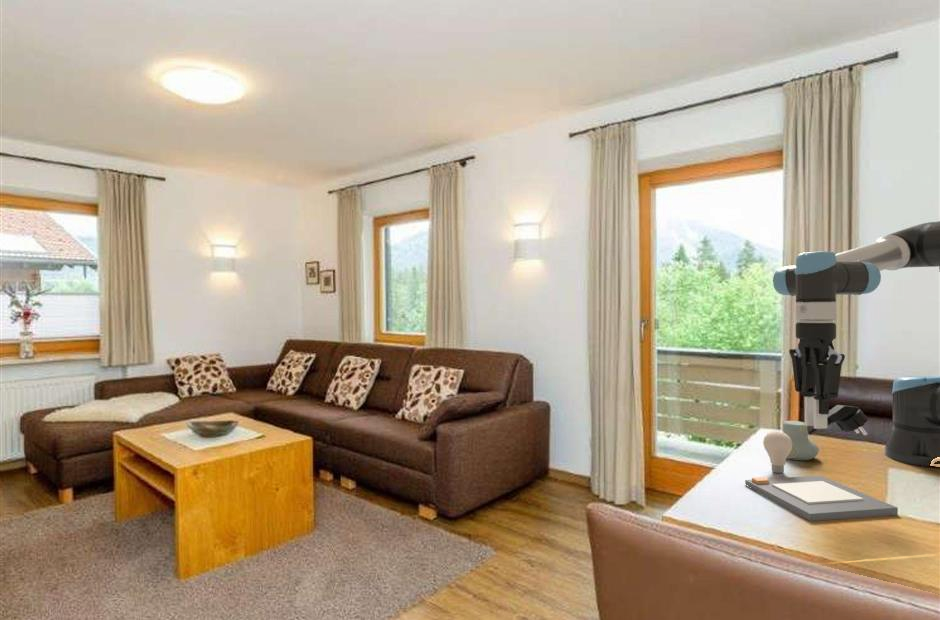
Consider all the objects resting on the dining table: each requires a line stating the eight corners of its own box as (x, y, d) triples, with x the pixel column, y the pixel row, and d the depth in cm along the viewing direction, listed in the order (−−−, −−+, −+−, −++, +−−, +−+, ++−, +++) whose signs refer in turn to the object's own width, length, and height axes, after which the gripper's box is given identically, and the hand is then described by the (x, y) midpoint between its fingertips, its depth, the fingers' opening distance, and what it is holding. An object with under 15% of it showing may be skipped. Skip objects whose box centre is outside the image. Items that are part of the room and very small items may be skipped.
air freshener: (824, 461, 142) (824, 425, 142) (804, 465, 139) (804, 428, 139) (786, 451, 152) (786, 417, 152) (767, 454, 149) (767, 420, 149)
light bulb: (795, 473, 133) (795, 430, 133) (789, 479, 128) (789, 435, 128) (766, 467, 138) (766, 426, 138) (760, 473, 133) (759, 431, 133)
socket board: (820, 481, 127) (820, 472, 127) (897, 514, 107) (897, 503, 107) (745, 486, 124) (745, 476, 124) (809, 521, 105) (809, 509, 105)
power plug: (799, 428, 119) (841, 397, 118) (821, 456, 118) (864, 424, 118) (814, 432, 113) (858, 399, 113) (837, 461, 112) (881, 428, 112)
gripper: (776, 320, 122) (776, 419, 122) (827, 323, 107) (827, 436, 108) (805, 320, 123) (805, 418, 123) (859, 322, 108) (860, 434, 109)
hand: (815, 426), depth 116 cm, fingers closed on power plug, 2 cm apart
